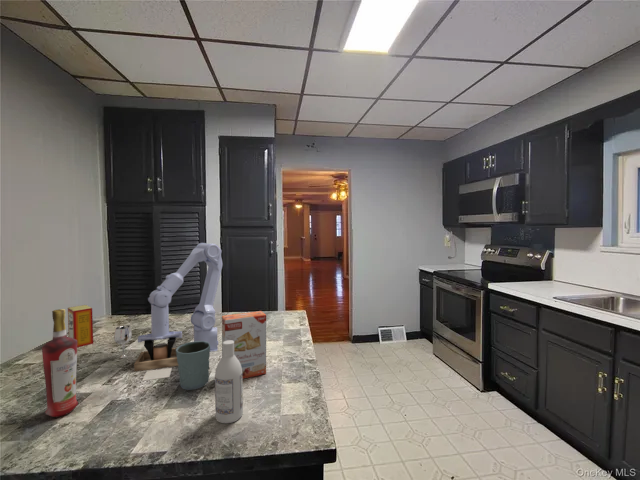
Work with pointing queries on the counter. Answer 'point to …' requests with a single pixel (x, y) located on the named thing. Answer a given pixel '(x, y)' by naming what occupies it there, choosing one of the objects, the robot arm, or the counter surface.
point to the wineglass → (122, 336)
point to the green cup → (193, 364)
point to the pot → (160, 351)
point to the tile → (157, 374)
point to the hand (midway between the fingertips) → (161, 358)
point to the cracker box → (247, 340)
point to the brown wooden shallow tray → (154, 361)
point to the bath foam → (228, 386)
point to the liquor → (60, 368)
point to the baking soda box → (80, 324)
